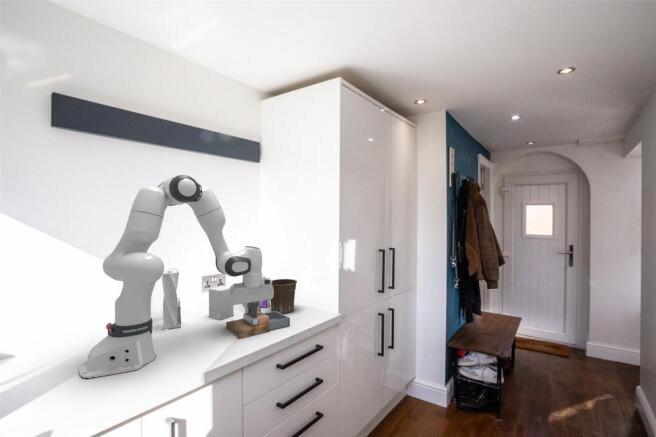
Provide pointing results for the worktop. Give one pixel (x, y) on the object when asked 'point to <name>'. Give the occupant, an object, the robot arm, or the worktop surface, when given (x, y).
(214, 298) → the supplement box
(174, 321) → the skyscraper
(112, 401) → the worktop surface
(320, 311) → the worktop surface
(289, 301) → the plant pot
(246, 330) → the board
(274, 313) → the tray
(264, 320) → the tile
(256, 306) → the scraper
